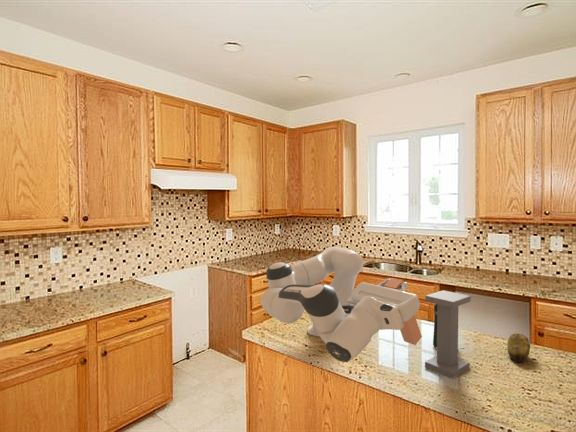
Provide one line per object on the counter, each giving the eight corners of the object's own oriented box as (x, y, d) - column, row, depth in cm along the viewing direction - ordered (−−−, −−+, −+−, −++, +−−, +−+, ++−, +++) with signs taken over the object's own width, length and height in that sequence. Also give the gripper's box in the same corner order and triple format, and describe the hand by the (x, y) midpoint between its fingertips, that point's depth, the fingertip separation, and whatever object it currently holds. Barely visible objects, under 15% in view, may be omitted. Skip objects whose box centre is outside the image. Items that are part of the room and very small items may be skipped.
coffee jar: (449, 353, 131) (450, 306, 130) (430, 347, 137) (430, 302, 136) (460, 346, 137) (461, 301, 136) (441, 340, 143) (441, 297, 142)
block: (395, 288, 96) (402, 280, 99) (384, 285, 100) (391, 277, 102) (415, 345, 103) (421, 336, 105) (404, 341, 106) (410, 332, 108)
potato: (499, 358, 126) (499, 337, 126) (511, 349, 134) (511, 329, 134) (525, 366, 120) (525, 344, 119) (536, 356, 128) (536, 335, 128)
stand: (452, 378, 112) (453, 302, 111) (424, 367, 120) (425, 295, 119) (469, 368, 119) (470, 295, 118) (442, 357, 127) (443, 290, 126)
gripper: (348, 311, 103) (373, 283, 110) (406, 331, 86) (431, 297, 93) (340, 295, 101) (367, 268, 108) (399, 313, 84) (425, 279, 91)
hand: (397, 282), depth 100 cm, fingers closed on block, 4 cm apart
